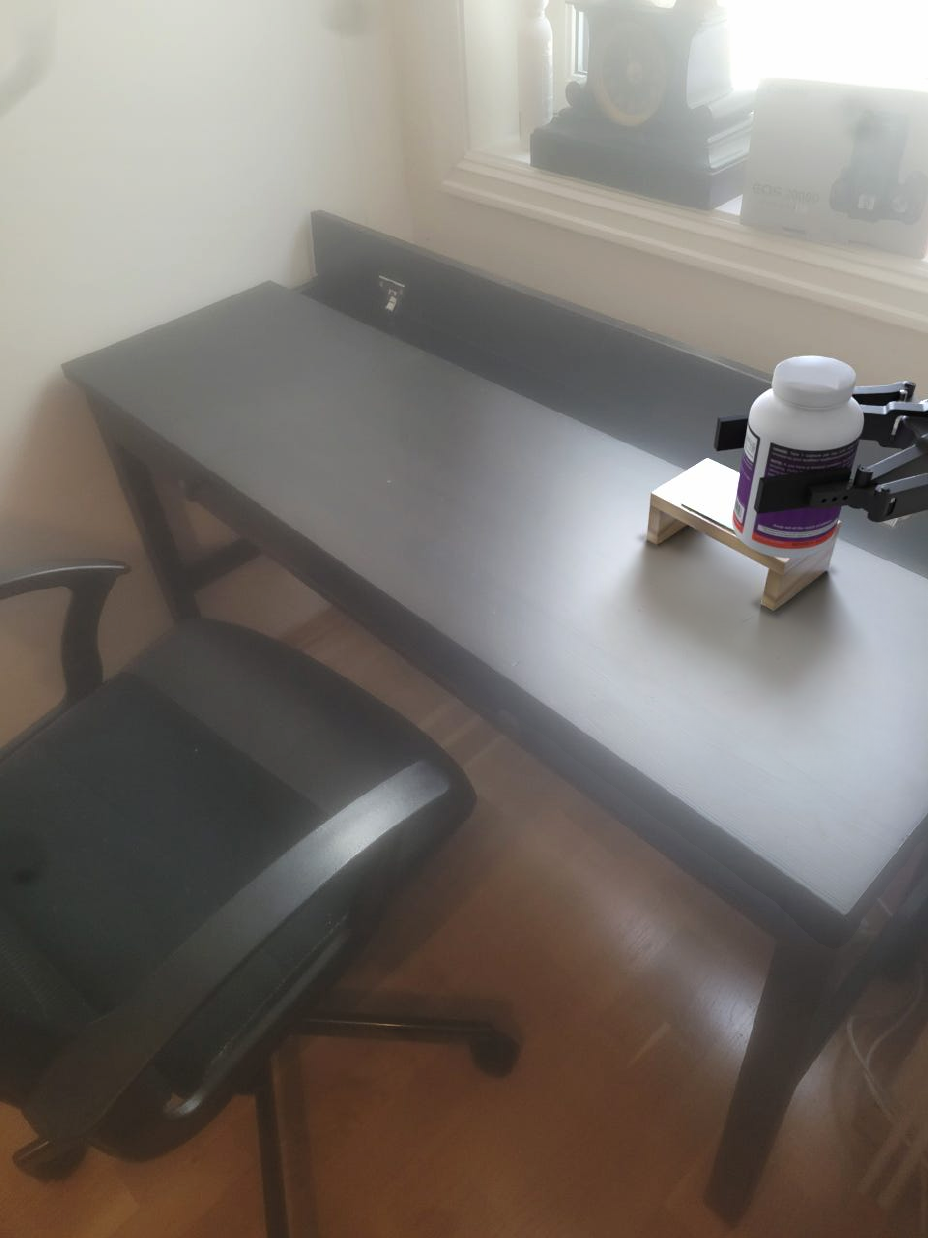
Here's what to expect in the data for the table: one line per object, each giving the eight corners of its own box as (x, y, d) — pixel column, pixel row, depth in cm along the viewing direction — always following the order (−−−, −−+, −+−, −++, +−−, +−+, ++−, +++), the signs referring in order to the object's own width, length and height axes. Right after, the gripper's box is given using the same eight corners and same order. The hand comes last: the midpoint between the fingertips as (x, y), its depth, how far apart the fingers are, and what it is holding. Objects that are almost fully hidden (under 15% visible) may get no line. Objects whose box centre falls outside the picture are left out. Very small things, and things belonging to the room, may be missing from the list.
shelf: (828, 569, 87) (842, 519, 82) (773, 611, 83) (785, 561, 79) (700, 503, 96) (707, 456, 92) (646, 538, 92) (650, 490, 88)
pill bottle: (853, 539, 70) (903, 376, 60) (783, 578, 67) (822, 413, 57) (777, 494, 75) (811, 336, 65) (708, 528, 72) (733, 369, 63)
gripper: (1090, 545, 62) (782, 588, 61) (936, 404, 77) (688, 436, 76) (1138, 456, 57) (803, 501, 56) (963, 323, 72) (698, 356, 71)
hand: (737, 463), depth 66 cm, fingers closed on pill bottle, 8 cm apart
